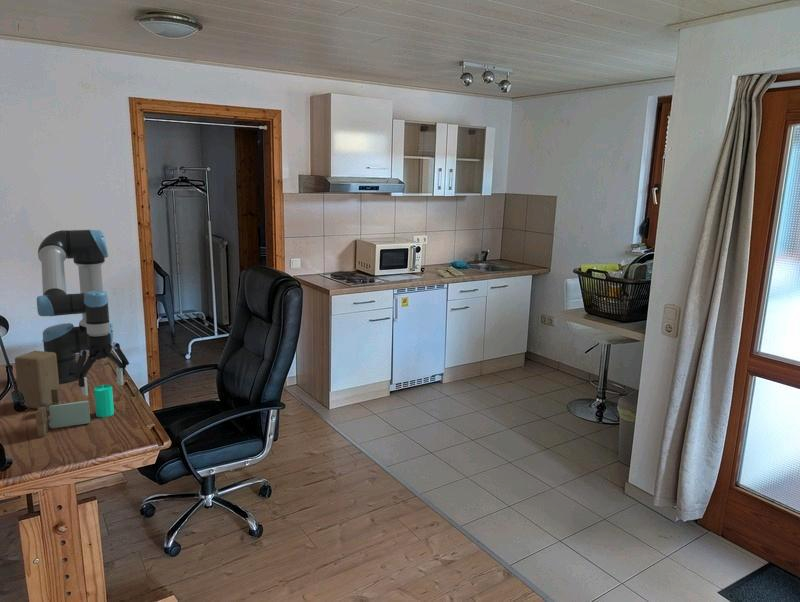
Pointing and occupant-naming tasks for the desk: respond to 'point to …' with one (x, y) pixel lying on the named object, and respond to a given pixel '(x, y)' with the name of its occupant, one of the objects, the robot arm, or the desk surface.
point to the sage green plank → (69, 414)
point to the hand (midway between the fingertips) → (103, 389)
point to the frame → (42, 412)
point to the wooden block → (37, 377)
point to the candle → (104, 400)
